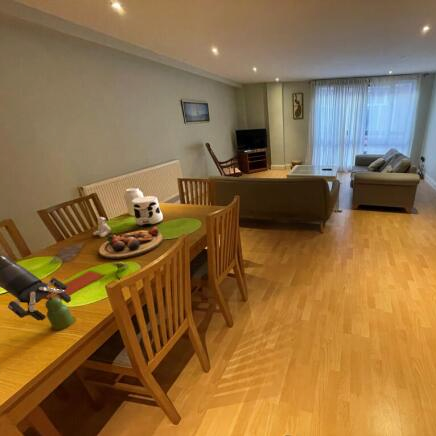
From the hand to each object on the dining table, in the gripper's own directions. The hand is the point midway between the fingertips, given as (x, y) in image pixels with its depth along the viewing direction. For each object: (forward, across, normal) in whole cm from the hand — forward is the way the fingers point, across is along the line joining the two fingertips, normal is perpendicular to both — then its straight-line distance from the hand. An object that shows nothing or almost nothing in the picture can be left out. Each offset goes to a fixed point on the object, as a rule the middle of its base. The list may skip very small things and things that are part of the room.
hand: (57, 309), depth 85 cm
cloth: (-8, +19, +18) cm, 27 cm away
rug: (-30, +42, +40) cm, 65 cm away
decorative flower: (+3, +31, +7) cm, 32 cm away
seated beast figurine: (-31, +67, +41) cm, 84 cm away
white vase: (-35, +104, +46) cm, 119 cm away
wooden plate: (-10, +56, +20) cm, 60 cm away
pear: (+5, 0, +5) cm, 7 cm away
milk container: (-19, +88, +29) cm, 95 cm away
